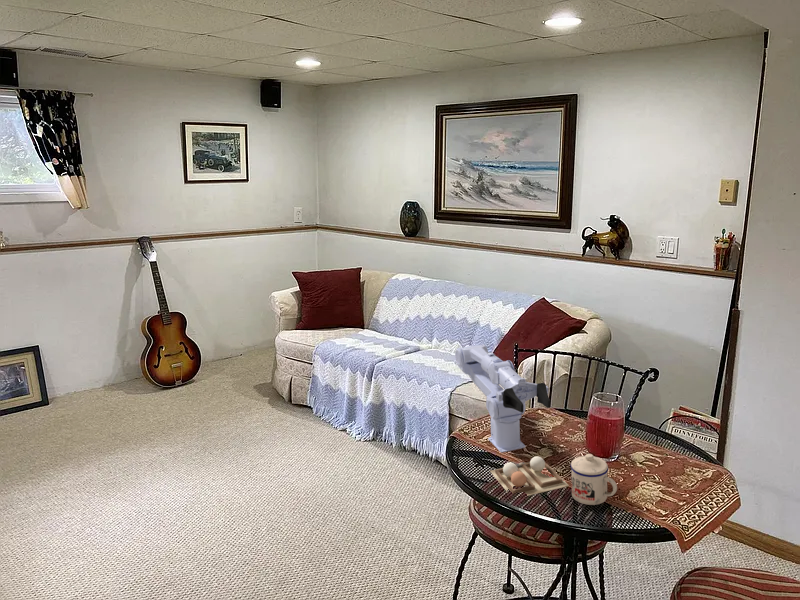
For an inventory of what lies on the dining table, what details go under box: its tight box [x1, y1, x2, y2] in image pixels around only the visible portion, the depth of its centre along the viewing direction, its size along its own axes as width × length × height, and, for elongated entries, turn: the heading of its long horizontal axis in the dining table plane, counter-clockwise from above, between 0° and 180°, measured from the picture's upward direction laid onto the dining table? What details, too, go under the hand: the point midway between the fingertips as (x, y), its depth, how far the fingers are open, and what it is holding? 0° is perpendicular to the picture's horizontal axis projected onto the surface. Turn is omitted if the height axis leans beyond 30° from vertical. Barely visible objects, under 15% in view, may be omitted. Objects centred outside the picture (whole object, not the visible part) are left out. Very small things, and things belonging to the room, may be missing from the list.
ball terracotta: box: [511, 471, 526, 487], centre depth 175 cm, size 4×4×4 cm
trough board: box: [489, 460, 570, 497], centre depth 179 cm, size 15×16×1 cm
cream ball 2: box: [529, 455, 546, 472], centre depth 181 cm, size 4×4×4 cm
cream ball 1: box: [502, 461, 518, 478], centre depth 180 cm, size 4×4×4 cm
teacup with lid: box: [570, 453, 618, 506], centre depth 166 cm, size 12×9×12 cm
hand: (535, 406), depth 173 cm, fingers open, 7 cm apart
